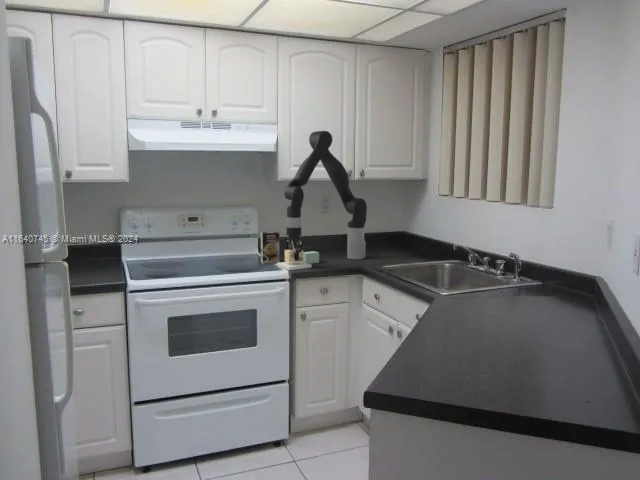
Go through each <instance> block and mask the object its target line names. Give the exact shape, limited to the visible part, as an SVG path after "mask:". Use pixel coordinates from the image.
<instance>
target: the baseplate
mask: <svg viewBox="0 0 640 480" xmlns="http://www.w3.org/2000/svg"><path fill="white" fill-rule="evenodd" d="M312 265H313V264H308V263H305V262H302V261H298V262H287V261H282V262H281V261H279V263H276V266H277V267H279V268H282V269H284V270H287V271H294V270H301V269H302V270H303V269H311V268H312Z"/></svg>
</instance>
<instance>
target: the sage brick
mask: <svg viewBox="0 0 640 480" xmlns="http://www.w3.org/2000/svg"><path fill="white" fill-rule="evenodd" d="M302 262H305V263H308V264H311V265H313V264H319V263H320V252H318V251H315V250H314V251H311V250H310V251H303V261H302Z"/></svg>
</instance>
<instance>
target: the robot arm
mask: <svg viewBox="0 0 640 480" xmlns="http://www.w3.org/2000/svg"><path fill="white" fill-rule="evenodd" d="M308 142H309V145H310V147H311V148H312V151H311V153H310V154H309V156H308V157H306V158H305V160H303V162H302V163H301V164H300V166H299V167H298V169H297V172H296V173H295V175H294V176H293V178H292V179H291V180H290V181H289V182H288V184H287V185H286V187H285V189H284V192H283V194H284V198H285V199H287V200H288V201H290V202H291V203H290V205H288V206H287V208H286V227H285V231H286V233H285V234H286V236H287V237H286V238H285V246H286V250H291V249H294V252H295V260H299V253H300V252H302V250H303V240H300V236H302V215H301V214H302V206H303V201H304V198H305V197H304V196H305V195H304V194H305V193H304V190H303V189H302V187H303V186H306V185H307V184H308V182H309V180H310V178H311V176H312V174H313V172H314V171H315V168H316V167H317V165H318V164H319V162H321V164H322V166H323V168H324V169H325V171H326V173H327V175H328V177H329V179H330V180H331V182H332V185H334V187H335V190H336V191H337V193H338V195H339V197H340V199H341V202H342V204H343V207H344V209H345V211H346V212H347V213H348V214H349V215H352V217H351V220H349V221H348V222H347V240H346V241H347V244H346V245H347V246H346V247H347V249H346V250H347V251H346V252H347V253H346V255H347V256H346V258H347V259H348V260H349V259H350V260H363V259H365V258H366V246H367V244H366V240H365V226H366V225H365V224H366V222H367V213H368V212H367V210H368V205H367V202H366V200H365V199H364V198H361V197H360V198H359V197H355V195H354V194H353V192H352V191H351V188H350V177H349V174H348V172H347V170H346V167H345V166H344V165H343V163H342V162H341V161H340V160H339V159H337V158H336V156H334V155H333V154H332V153H331V151H330V150H329V149H330V147H331V146H332V143H333V136H332V133H331V132H330V131H328V130H319V131H316V130H315V131H313V132H311V133H310V135H309V138H308ZM299 249H300V250H299Z"/></svg>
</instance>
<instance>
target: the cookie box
mask: <svg viewBox="0 0 640 480" xmlns="http://www.w3.org/2000/svg"><path fill="white" fill-rule="evenodd" d="M260 262H261V264H263V265H265V264H266V265H267V264H277V263H279V262H280V232H279V231H260Z"/></svg>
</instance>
